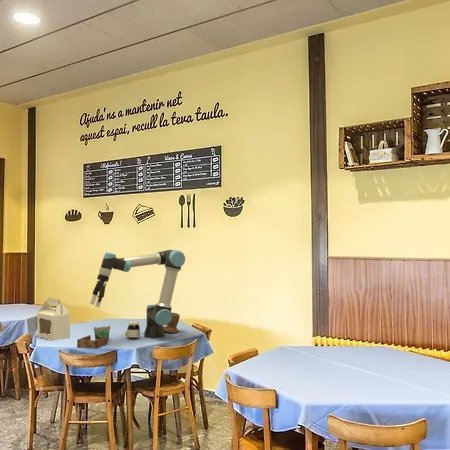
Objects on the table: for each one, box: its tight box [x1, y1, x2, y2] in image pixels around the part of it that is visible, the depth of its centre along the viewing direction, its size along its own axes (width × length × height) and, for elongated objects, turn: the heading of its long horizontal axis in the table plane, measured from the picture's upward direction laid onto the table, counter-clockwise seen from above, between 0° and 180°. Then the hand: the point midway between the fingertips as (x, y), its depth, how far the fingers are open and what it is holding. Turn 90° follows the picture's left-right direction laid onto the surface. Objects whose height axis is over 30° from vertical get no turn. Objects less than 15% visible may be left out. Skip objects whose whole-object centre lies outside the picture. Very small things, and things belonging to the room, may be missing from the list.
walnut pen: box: [76, 334, 109, 350], centre depth 337 cm, size 14×15×5 cm
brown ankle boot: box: [163, 311, 181, 334], centre depth 383 cm, size 15×12×15 cm
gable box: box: [36, 297, 71, 341], centre depth 363 cm, size 22×13×28 cm, turn 50°
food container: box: [93, 324, 111, 341], centre depth 351 cm, size 12×6×10 cm, turn 126°
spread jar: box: [124, 320, 141, 340], centre depth 361 cm, size 12×11×12 cm
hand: (94, 305), depth 334 cm, fingers open, 13 cm apart
